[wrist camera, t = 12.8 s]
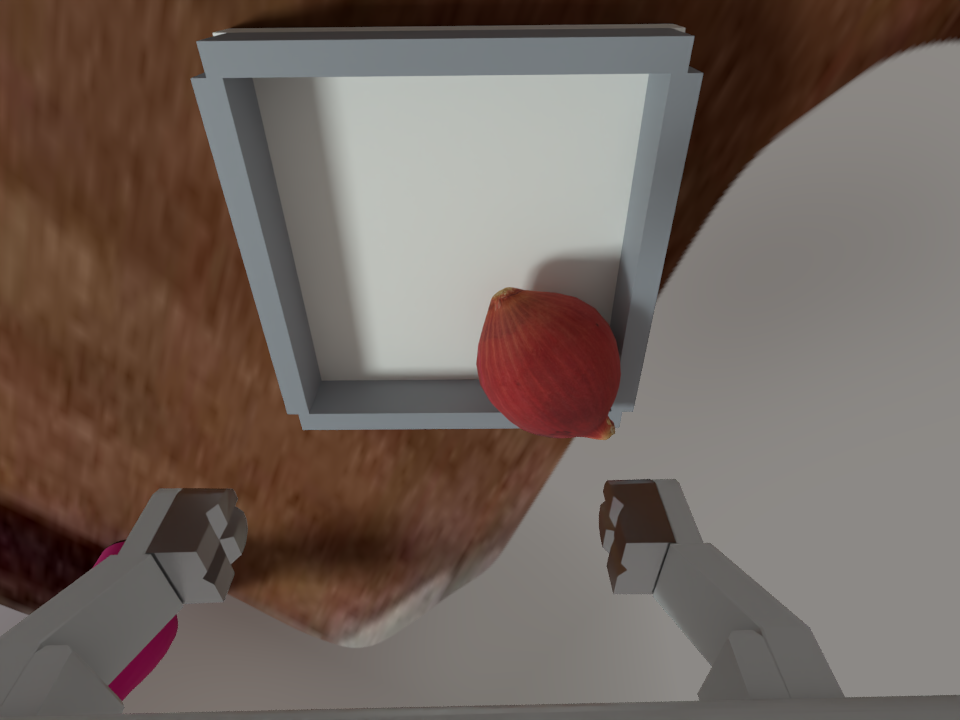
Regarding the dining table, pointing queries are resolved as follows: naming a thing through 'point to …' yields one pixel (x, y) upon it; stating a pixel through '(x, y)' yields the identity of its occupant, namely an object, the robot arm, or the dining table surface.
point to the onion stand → (442, 197)
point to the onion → (549, 364)
